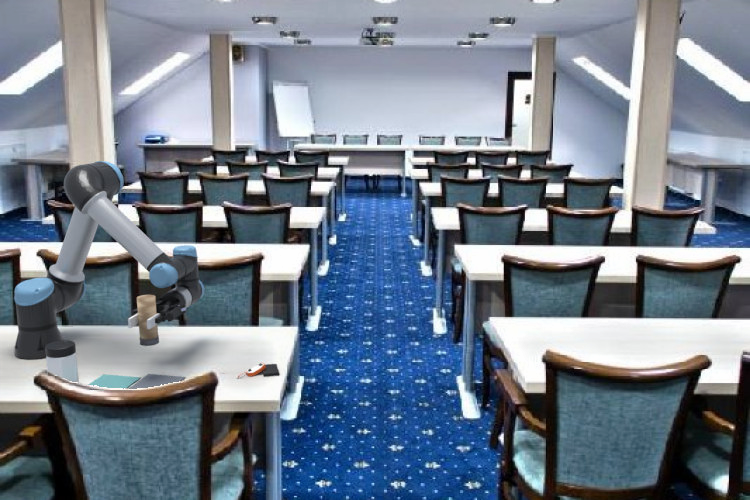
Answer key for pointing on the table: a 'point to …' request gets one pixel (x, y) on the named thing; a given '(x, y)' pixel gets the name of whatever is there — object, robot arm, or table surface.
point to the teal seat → (114, 381)
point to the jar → (62, 359)
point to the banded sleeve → (146, 311)
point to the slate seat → (156, 380)
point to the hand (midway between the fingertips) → (138, 323)
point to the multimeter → (263, 370)
